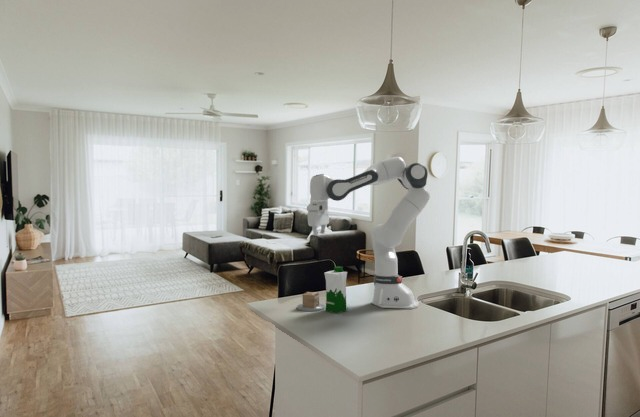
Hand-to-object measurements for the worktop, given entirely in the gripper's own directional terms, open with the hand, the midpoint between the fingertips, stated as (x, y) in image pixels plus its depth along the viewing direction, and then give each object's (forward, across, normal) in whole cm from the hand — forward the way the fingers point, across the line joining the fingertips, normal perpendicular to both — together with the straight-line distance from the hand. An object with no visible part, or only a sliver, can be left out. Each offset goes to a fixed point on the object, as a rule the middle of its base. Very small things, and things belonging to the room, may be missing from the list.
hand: (319, 234), depth 210 cm
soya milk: (+34, +13, +13) cm, 39 cm away
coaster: (+34, +12, 0) cm, 36 cm away
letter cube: (+33, +12, 0) cm, 35 cm away
